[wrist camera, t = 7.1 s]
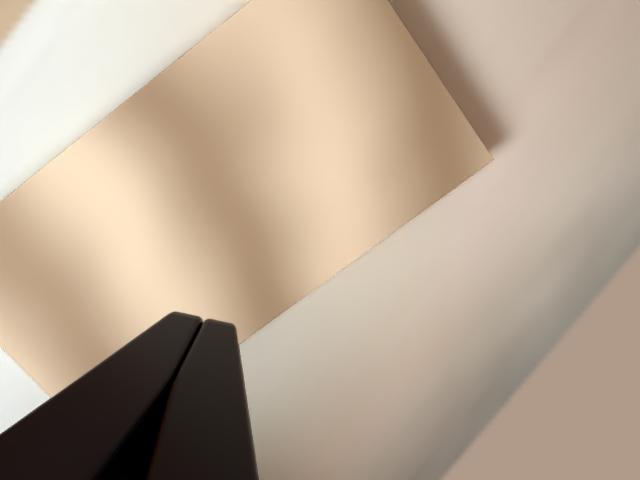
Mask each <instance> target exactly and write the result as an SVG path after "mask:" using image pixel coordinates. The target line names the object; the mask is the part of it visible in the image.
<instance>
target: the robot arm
mask: <svg viewBox="0 0 640 480" xmlns="http://www.w3.org/2000/svg"><path fill="white" fill-rule="evenodd" d="M0 480H259V477H258V470H257V463H256V456H255V450H254V443H253V436H252V430H251V423H250V416H249V409H248V403H247V396H246V389H245V382H244V376H243V369H242V362H241V355H240V349H239V342H238V335H237V329H236V326H235V325H234V324H233V323H229V322H224V321H219V320H215V319H206V320H204V322H203V319H202V318H201V317H200V316H196V315H191V314H187V313H182V312H177V311H174V312H171V313H169V314H167V315H166V316H165V317H163V318H162V319H160V320H159V321H158V322H156V323H155V324H153V325H152V326H151V327H149V328H148V329H146V330H145V331H144V332H142V333H141V334H139V335H138V336H137V337H135V338H134V339H132V340H131V341H130V342H128V343H127V344H125V345H124V346H123V347H121V348H120V349H118V350H117V351H116V352H114V353H113V354H111V355H110V356H109V357H107V358H106V359H104V360H103V361H102V362H100V363H99V364H98V365H96V366H95V367H93V368H92V369H91V370H89V371H88V372H86V373H85V374H84V375H82V376H81V377H79V378H78V379H77V380H75V381H74V382H72V383H71V384H70V385H68V386H67V387H65V388H64V389H63V390H61V391H60V392H58V393H57V394H56V395H54V396H53V397H51V398H50V399H49V400H47V401H46V402H44V403H43V404H42V405H40V406H39V407H37V408H36V409H35V410H33V411H32V412H31V413H29V414H28V415H26V416H25V417H24V418H22V419H21V420H19V421H18V422H17V423H15V424H14V425H12V426H11V427H10V428H8V429H7V430H5V431H4V432H3V433H1V434H0Z"/></svg>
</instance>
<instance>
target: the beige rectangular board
mask: <svg viewBox="0 0 640 480" xmlns="http://www.w3.org/2000/svg"><path fill="white" fill-rule="evenodd" d="M493 160H494V159H493V158H492V156H491V155H490V153H489V152H488V150H487V149H486V147H485V146H484V144H483V143H482V141H481V140H480V138H479V137H478V135H477V134H476V132H475V131H474V129H473V128H472V126H471V125H470V123H469V122H468V120H467V119H466V117H465V116H464V114H463V113H462V111H461V110H460V108H459V107H458V105H457V104H456V102H455V101H454V99H453V97H452V96H451V94H450V93H449V91H448V90H447V88H446V87H445V85H444V84H443V82H442V81H441V79H440V78H439V76H438V75H437V73H436V72H435V70H434V69H433V67H432V66H431V64H430V63H429V61H428V60H427V58H426V57H425V55H424V54H423V52H422V51H421V49H420V48H419V46H418V45H417V43H416V42H415V40H414V39H413V37H412V36H411V34H410V33H409V31H408V30H407V28H406V27H405V25H404V24H403V22H402V21H401V19H400V18H399V16H398V15H397V13H396V12H395V10H394V9H393V7H392V6H391V4H390V2H389V1H388V0H251V1H250V2H249V3H248V4H246V5H245V6H244V7H243V8H241V9H240V10H239V11H238V12H236V13H235V14H234V15H233V16H231V17H230V18H229V19H228V20H226V21H225V22H224V23H223V24H221V25H220V26H219V27H218V28H216V29H215V30H214V31H213V32H211V33H210V34H209V35H208V36H206V37H205V38H204V39H203V40H201V41H200V42H199V43H198V44H196V45H195V46H194V47H193V48H191V49H190V50H189V51H188V52H186V53H185V54H184V55H183V56H181V57H180V58H179V59H178V60H177V61H175V62H174V63H173V64H172V65H170V66H169V67H168V68H167V69H165V70H164V71H163V72H162V73H160V74H159V75H158V76H157V77H155V78H154V79H153V80H152V81H150V82H149V83H148V84H147V85H145V86H144V87H143V88H142V89H140V90H139V91H138V92H137V93H135V94H134V95H133V96H132V97H130V98H129V99H128V100H127V101H125V102H124V103H123V104H122V105H120V106H119V107H118V108H117V109H115V110H114V111H113V112H112V113H110V114H109V115H108V116H107V117H105V118H104V119H103V120H102V121H101V122H99V123H98V124H97V125H96V126H94V127H93V128H92V129H91V130H89V131H88V132H87V133H86V134H84V135H83V136H82V137H81V138H79V139H78V140H77V141H76V142H74V143H73V144H72V145H71V146H69V147H68V148H67V149H66V150H64V151H63V152H62V153H61V154H59V155H58V156H57V157H56V158H54V159H53V160H52V161H51V162H49V163H48V164H47V165H46V166H44V167H43V168H42V169H41V170H39V171H38V172H37V173H36V174H34V175H33V176H32V177H31V178H30V179H28V180H27V181H26V182H25V183H23V184H22V185H21V186H20V187H18V188H17V189H16V190H15V191H13V192H12V193H11V194H10V195H8V196H7V197H6V198H5V199H3V200H2V201H1V202H0V347H1V348H2V349H3V350H4V351H5V353H6V354H7V355H8V356H9V357H10V358H11V359H12V360H13V361H14V362H15V363H16V364H17V365H18V366H19V367H20V368H21V369H22V370H23V371H24V372H25V373H26V374H27V375H28V376H29V377H30V378H31V379H32V380H33V381H34V382H35V383H36V384H37V385H38V386H39V387H40V388H41V389H42V390H43V391H44V392H45V393H46V394H47V395H48V396H49V397H50V398H51V397H53V396H54V395H56V394H57V393H58V392H60V391H61V390H63V389H64V388H65V387H67V386H68V385H70V384H71V383H72V382H74V381H75V380H77V379H78V378H79V377H81V376H82V375H84V374H85V373H86V372H88V371H89V370H91V369H92V368H93V367H95V366H96V365H98V364H99V363H100V362H102V361H103V360H104V359H106V358H107V357H109V356H110V355H111V354H113V353H114V352H116V351H117V350H118V349H120V348H121V347H123V346H124V345H125V344H127V343H128V342H130V341H131V340H132V339H134V338H135V337H137V336H138V335H139V334H141V333H142V332H144V331H145V330H146V329H148V328H149V327H151V326H152V325H153V324H155V323H156V322H158V321H159V320H160V319H162V318H163V317H165V316H166V315H167V314H169V313H171V312H174V311H177V312H182V313H187V314H191V315H196V316H200V317H201V318H202V319H203V322H204V320H206V319H215V320H219V321H224V322H229V323H233V324H234V325H235V326H236V329H237V335H238V342H239V344H240V343H241V342H243V341H244V340H246V339H247V338H248V337H250V336H251V335H252V334H254V333H255V332H257V331H258V330H259V329H261V328H262V327H263V326H265V325H266V324H268V323H269V322H270V321H272V320H273V319H275V318H276V317H277V316H279V315H280V314H281V313H283V312H284V311H286V310H287V309H288V308H290V307H291V306H293V305H294V304H295V303H297V302H298V301H299V300H301V299H302V298H304V297H305V296H306V295H308V294H309V293H310V292H312V291H313V290H315V289H316V288H317V287H319V286H320V285H322V284H323V283H324V282H326V281H327V280H328V279H330V278H331V277H333V276H334V275H335V274H337V273H338V272H339V271H341V270H342V269H344V268H345V267H346V266H348V265H349V264H351V263H352V262H353V261H355V260H356V259H357V258H359V257H360V256H362V255H363V254H364V253H366V252H367V251H368V250H370V249H371V248H373V247H374V246H375V245H377V244H378V243H380V242H381V241H382V240H384V239H385V238H386V237H388V236H389V235H391V234H392V233H393V232H395V231H396V230H398V229H399V228H400V227H402V226H403V225H404V224H406V223H407V222H409V221H410V220H411V219H413V218H414V217H415V216H417V215H418V214H420V213H421V212H422V211H424V210H425V209H427V208H428V207H429V206H431V205H432V204H433V203H435V202H436V201H438V200H439V199H440V198H442V197H443V196H444V195H446V194H447V193H449V192H450V191H451V190H453V189H454V188H456V187H457V186H458V185H460V184H461V183H462V182H464V181H465V180H467V179H468V178H469V177H471V176H472V175H474V174H475V173H476V172H478V171H479V170H480V169H482V168H483V167H485V166H486V165H487V164H489V163H490V162H491V161H493Z"/></svg>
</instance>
